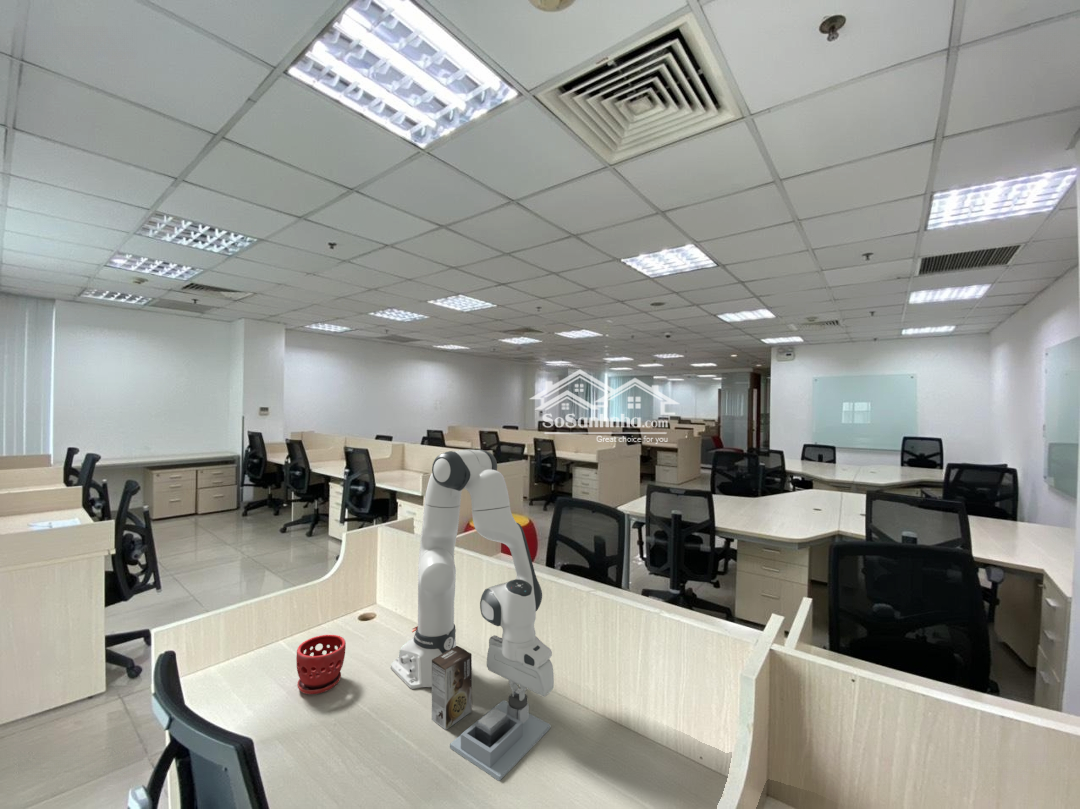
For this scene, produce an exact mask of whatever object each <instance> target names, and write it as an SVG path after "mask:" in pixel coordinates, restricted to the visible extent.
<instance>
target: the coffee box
mask: <svg viewBox="0 0 1080 809" xmlns="http://www.w3.org/2000/svg"><path fill="white" fill-rule="evenodd" d="M472 656H473V655H472V653H471V652H469V651H467V649H464V648H463V647H461V646H458V645H456V646H455V647H454V648H452V649H450V650H448V651H447V652H445V653H443V654H441V655H439V656H438V657H436V658H434V659H432V687H431V720H432V721H433V722H435V723H436V725H439V726H440V727H441V728H442V729H444V730H448V729H450V728H451V727H452V726H454V725H455V724H456V723H458V722H459V721H461V720H462V719H463V718H465V717H466V716H468V715H469V714H470V713H472V711H473V710H472V709H473V706H472V705H473V703H472V702H473V701H472V699H473V695H472V693H473V692H472V690H473V687H472V685H473V684H472V683H473V681H472V678H473V677H472V676H473V674H472V672H473V671H472V669H473V667H472V658H473V657H472Z"/></svg>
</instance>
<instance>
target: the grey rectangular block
mask: <svg viewBox="0 0 1080 809" xmlns="http://www.w3.org/2000/svg"><path fill="white" fill-rule="evenodd" d="M490 710H491V709H490ZM490 710H489V711H490ZM489 711H488V712H489ZM485 714H486V713H485ZM485 714H484V715H485ZM484 715H483V716H484ZM479 719H480V718H479ZM479 719H478V720H479ZM478 720H477V721H478ZM509 730H510V718H509V717H507V714H506V713H504V712H502V711H500V710H498V709H496V708H494V709H493V710H491V711H490V712H489V713H488V714H486V715H485V716H484V717H483V718H482V719H480V720H479V721H478V724H477V725H476V726H475V739H476V740H478V741H480V742H481V743H483V744H484V745H486V746H488V747H489V748H490V747H492V746H493V745H494V744H495V743H496V742H497V741H498V740H499V739H500V738H501V737H502V736H503V735H505V734H506V733H507V732H508V731H509Z"/></svg>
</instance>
